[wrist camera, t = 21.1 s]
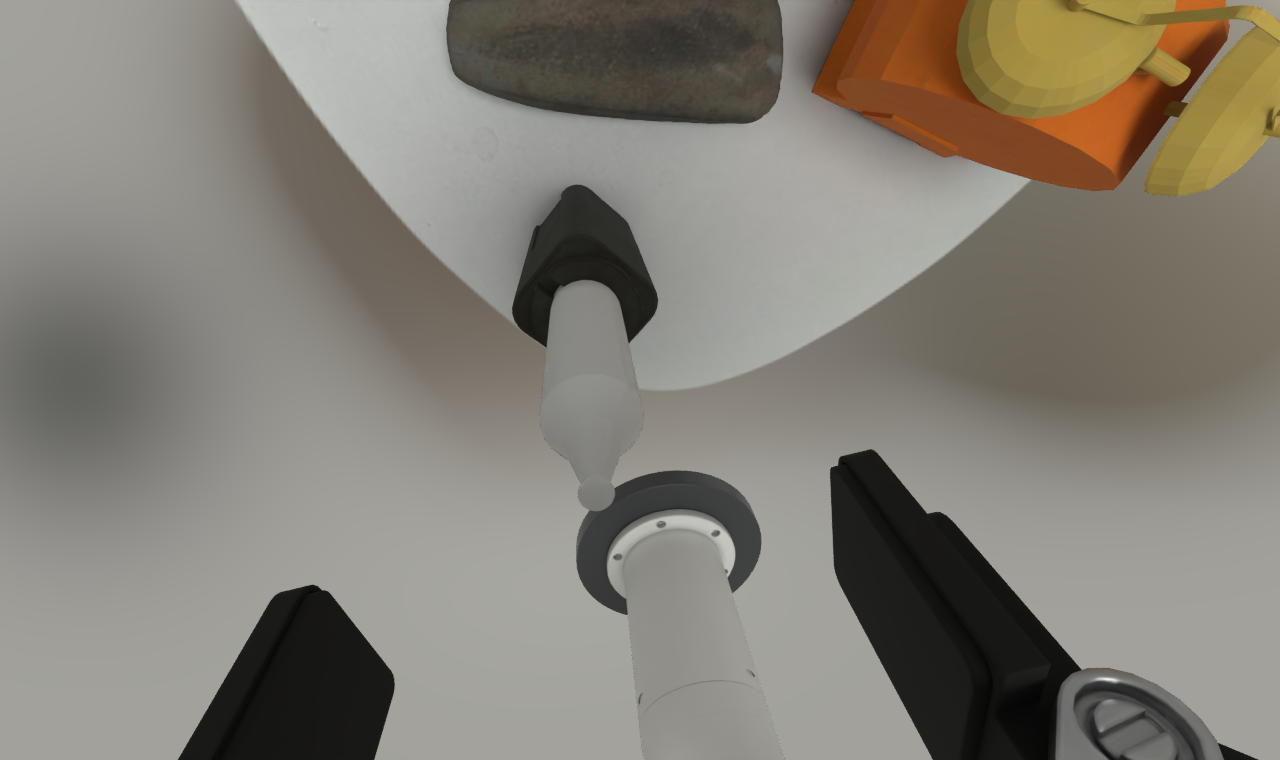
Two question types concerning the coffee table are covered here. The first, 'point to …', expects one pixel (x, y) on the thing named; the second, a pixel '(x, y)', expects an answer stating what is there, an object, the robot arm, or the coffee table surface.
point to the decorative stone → (623, 56)
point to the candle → (587, 335)
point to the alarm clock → (1064, 85)
